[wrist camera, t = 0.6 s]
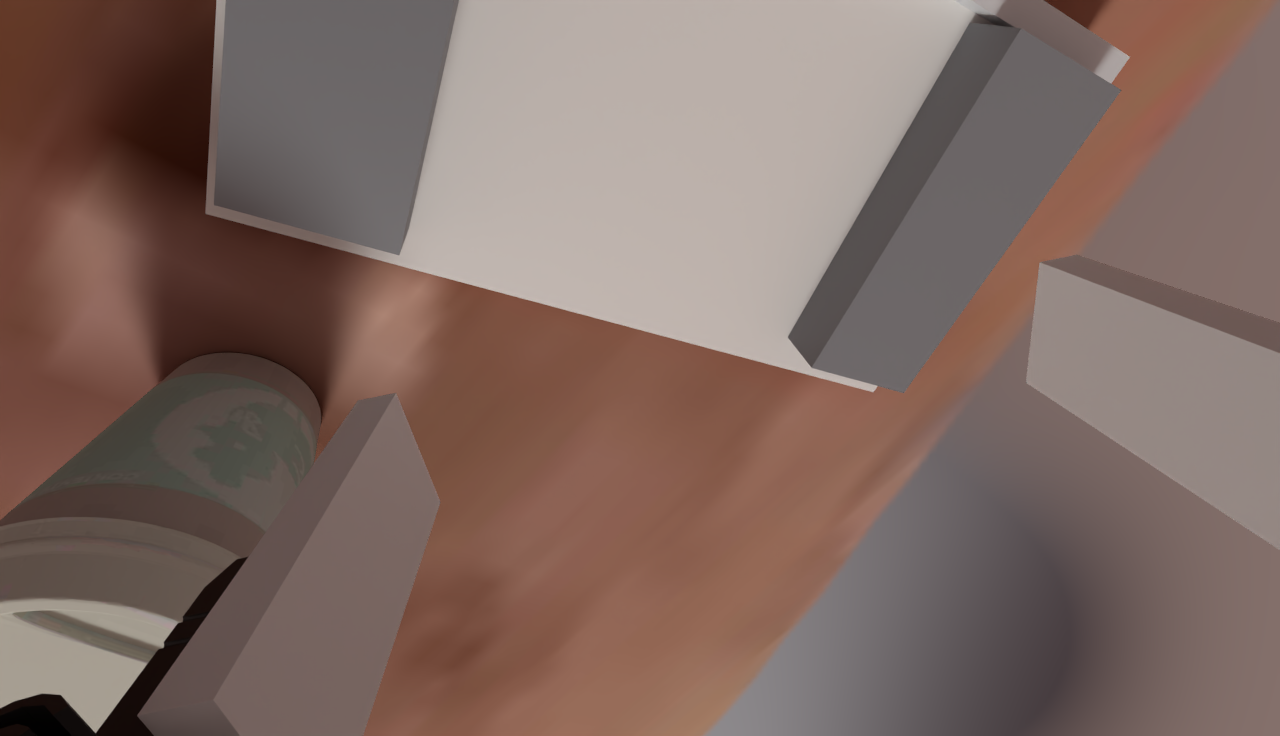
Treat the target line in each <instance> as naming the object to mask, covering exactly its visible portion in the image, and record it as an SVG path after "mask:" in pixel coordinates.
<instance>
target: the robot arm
mask: <svg viewBox="0 0 1280 736" xmlns="http://www.w3.org/2000/svg"><path fill="white" fill-rule="evenodd" d="M1026 383H1027V384H1029V385H1030V386H1032V387H1034V388H1035V389H1037V390H1038V391H1039V392H1041V393H1043V394H1044V395H1046V396H1047V397H1049V398H1050V399H1052V400H1053V401H1055V402H1056V403H1058V404H1059V405H1061V406H1062V407H1064V408H1065V409H1067V410H1068V411H1070V412H1071V413H1073V414H1074V415H1076V416H1077V417H1079V418H1080V419H1082V420H1084V421H1085V422H1086V423H1088V424H1090V425H1091V426H1093V427H1094V428H1096V429H1097V430H1099V431H1100V432H1102V433H1103V434H1105V435H1106V436H1108V437H1109V438H1111V439H1112V440H1114V441H1115V442H1117V443H1118V444H1120V445H1121V446H1123V447H1124V448H1126V449H1127V450H1129V451H1130V452H1132V453H1133V454H1135V455H1137V456H1138V457H1140V458H1141V459H1143V460H1144V461H1146V462H1147V463H1149V464H1150V465H1152V466H1153V467H1155V468H1156V469H1158V470H1160V471H1161V472H1162V473H1164V474H1165V475H1167V476H1168V477H1170V478H1171V479H1173V480H1174V481H1176V482H1177V483H1179V484H1181V485H1182V486H1184V487H1185V488H1187V489H1188V490H1190V491H1191V492H1193V493H1194V494H1196V495H1197V496H1199V497H1200V498H1202V499H1203V500H1205V501H1206V502H1208V503H1209V504H1211V505H1212V506H1214V507H1216V508H1217V509H1218V510H1220V511H1222V512H1223V513H1225V514H1226V515H1227V516H1229V517H1231V518H1232V519H1234V520H1235V521H1237V522H1238V523H1240V524H1241V525H1243V526H1244V527H1246V528H1247V529H1249V530H1250V531H1252V532H1253V533H1255V534H1256V535H1258V536H1259V537H1261V538H1263V539H1264V540H1265V541H1267V542H1268V543H1270V544H1271V545H1273V546H1274V547H1276V548H1278V549H1279V550H1280V323H1279V322H1276V321H1273V320H1270V319H1267V318H1264V317H1261V316H1257V315H1255V314H1252V313H1249V312H1246V311H1243V310H1240V309H1237V308H1234V307H1231V306H1228V305H1225V304H1222V303H1219V302H1216V301H1213V300H1210V299H1207V298H1204V297H1201V296H1198V295H1195V294H1192V293H1189V292H1186V291H1183V290H1180V289H1177V288H1174V287H1171V286H1168V285H1165V284H1163V283H1159V282H1157V281H1153V280H1151V279H1148V278H1144V277H1142V276H1139V275H1136V274H1133V273H1130V272H1127V271H1124V270H1121V269H1118V268H1115V267H1112V266H1109V265H1106V264H1103V263H1100V262H1097V261H1094V260H1091V259H1088V258H1085V257H1082V256H1079V255H1073V256H1068V257H1064V258H1059V259H1054V260H1049V261H1044V262H1040V265H1039V273H1038V282H1037V291H1036V299H1035V308H1034V317H1033V325H1032V334H1031V343H1030V352H1029V360H1028V369H1027V378H1026ZM439 505H440V500H439V498H438V495H437V493H436V490H435V488H434V485H433V483H432V480H431V478H430V476H429V473H428V471H427V468H426V466H425V463H424V461H423V458H422V456H421V453H420V451H419V448H418V446H417V443H416V441H415V439H414V436H413V434H412V431H411V429H410V426H409V424H408V421H407V419H406V416H405V414H404V411H403V409H402V406H401V404H400V401H399V399H398V397H397V394H396V393H393V394H388V395H383V396H378V397H373V398H369V399H364V400H359V401H357V403H356V404H355V406H354V407H353V409H352V410H351V411H350V413H349V414H348V416H347V417H346V419H345V420H344V421H343V423H342V424H341V426H340V427H339V429H338V430H337V431H336V433H335V434H334V436H333V437H332V439H331V440H330V441H329V443H328V444H327V446H326V447H325V449H324V450H323V451H322V453H321V454H320V456H319V457H318V458H317V460H316V461H315V463H314V464H313V466H312V467H311V468H310V470H309V471H308V473H307V474H306V476H305V477H304V478H303V480H302V481H301V483H300V484H299V486H298V487H297V488H296V490H295V491H294V493H293V494H292V496H291V497H290V498H289V500H288V501H287V503H286V504H285V506H284V507H283V508H282V510H281V511H280V513H279V514H278V515H277V517H276V518H275V520H274V521H273V523H272V524H271V525H270V527H269V528H268V530H267V531H266V533H265V534H264V535H263V537H262V538H261V540H260V541H259V543H258V544H257V545H256V547H255V548H254V550H253V551H252V553H251V554H250V555H249V557H245V558H240V559H236V560H235V561H234V562H233V563H232V564H231V565H230V566H228V567H227V568H226V569H225V570H224V571H223V572H221V573H220V574H219V575H218V576H217V577H216V578H215V579H213V580H212V581H211V582H210V583H209V584H208V585H207V586H205V587H204V589H203V590H202V591H201V593H200V594H199V595H198V597H197V598H196V599H195V601H194V602H193V603H192V605H191V606H190V608H189V609H188V610H187V612H186V613H185V614H184V616H183V622H181V623H178V624H177V625H176V626H175V628H174V629H173V630H172V632H171V633H170V634H169V636H168V637H167V638H166V640H165V641H164V642H163V643H164V647H163V648H161V649H158V650H157V652H156V653H155V654H154V656H153V657H152V658H151V660H150V661H149V662H148V664H147V665H146V666H145V668H144V669H143V670H142V672H141V673H140V674H139V676H138V677H137V678H136V680H135V681H134V682H133V684H132V685H131V687H130V688H129V689H128V691H127V692H126V693H125V695H124V696H123V697H122V699H121V700H120V701H119V703H118V704H117V705H116V707H115V708H114V709H113V711H112V712H111V713H110V715H109V716H108V717H107V719H106V720H105V721H104V723H103V724H102V725H101V727H100V728H99V729H98V731H97V732H96V733H95V732H94V731H93V730H92V729H91V728H90V726H89V725H88V724H87V723H86V722H85V721H84V720H83V719H82V718H81V717H80V715H79V714H78V713H77V712H76V711H75V710H74V709H73V708H72V707H71V706H70V704H69V703H68V702H67V701H66V700H65V699H64V698H63V697H62V696H61V695H56V694H43V693H42V694H38V695H35V696H31V697H28V698H24V699H21V700H17V701H14V702H12V703H10V704H8V705H6V706H4V707H2V708H0V736H363V734H364V731H365V728H366V725H367V722H368V719H369V716H370V713H371V710H372V707H373V704H374V701H375V698H376V695H377V692H378V689H379V686H380V683H381V680H382V677H383V674H384V671H385V668H386V665H387V662H388V659H389V656H390V653H391V650H392V647H393V644H394V641H395V638H396V634H397V631H398V628H399V625H400V622H401V619H402V616H403V613H404V610H405V607H406V604H407V601H408V598H409V595H410V592H411V589H412V586H413V583H414V580H415V577H416V574H417V571H418V568H419V565H420V562H421V559H422V556H423V553H424V550H425V547H426V544H427V541H428V538H429V535H430V532H431V529H432V526H433V523H434V520H435V517H436V514H437V511H438V508H439Z"/></svg>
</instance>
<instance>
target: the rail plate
mask: <svg viewBox="0 0 1280 736" xmlns="http://www.w3.org/2000/svg"><path fill="white" fill-rule="evenodd" d="M1129 58H1130V57H1129V56H1128V55H1126V54H1125V53H1123V52H1122V51H1120V50H1119V49H1117V48H1116V47H1114V46H1112V45H1111V44H1109V43H1108V42H1106V41H1105V40H1103V39H1102V38H1100V37H1099V36H1097V35H1096V34H1094V33H1093V32H1091V31H1090V30H1088V29H1087V28H1085V27H1083V26H1082V25H1080V24H1079V23H1077V22H1076V21H1074V20H1073V19H1071V18H1070V17H1068V16H1067V15H1065V14H1064V13H1062V12H1061V11H1059V10H1058V9H1056V8H1054V7H1053V6H1051V5H1050V4H1048V3H1047V2H1045V1H1044V0H217V1H216V20H215V40H214V59H213V78H212V97H211V116H210V135H209V154H208V173H207V192H206V211H205V214H208V215H212V216H215V217H219V218H223V219H227V220H230V221H234V222H238V223H242V224H245V225H249V226H253V227H257V228H260V229H264V230H268V231H272V232H275V233H279V234H283V235H287V236H290V237H294V238H298V239H302V240H305V241H309V242H313V243H317V244H320V245H324V246H328V247H332V248H335V249H339V250H343V251H347V252H350V253H354V254H358V255H361V256H365V257H369V258H373V259H376V260H380V261H384V262H388V263H391V264H395V265H399V266H403V267H406V268H410V269H414V270H418V271H421V272H425V273H429V274H433V275H436V276H440V277H444V278H448V279H451V280H455V281H459V282H463V283H466V284H470V285H474V286H478V287H481V288H485V289H489V290H493V291H496V292H500V293H504V294H508V295H511V296H515V297H519V298H523V299H526V300H530V301H534V302H538V303H541V304H545V305H549V306H553V307H556V308H560V309H564V310H568V311H571V312H575V313H579V314H583V315H586V316H590V317H594V318H598V319H601V320H605V321H609V322H613V323H616V324H620V325H624V326H628V327H631V328H635V329H639V330H643V331H646V332H650V333H654V334H658V335H661V336H665V337H669V338H672V339H676V340H680V341H684V342H687V343H691V344H695V345H699V346H702V347H706V348H710V349H714V350H717V351H721V352H725V353H729V354H732V355H736V356H740V357H744V358H747V359H751V360H755V361H759V362H762V363H766V364H770V365H774V366H777V367H781V368H785V369H789V370H792V371H796V372H800V373H804V374H807V375H811V376H815V377H819V378H822V379H826V380H830V381H834V382H837V383H841V384H845V385H849V386H852V387H856V388H860V389H864V390H867V391H871V392H874V391H875V389H876V388H877V386H880V387H884V388H887V389H891V390H895V391H898V392H902V393H904V392H905V391H906V389H907V388H908V386H909V385H910V384H911V382H912V381H913V379H914V378H915V377H916V375H917V374H918V372H919V371H920V370H921V368H922V367H923V365H924V364H925V363H926V361H927V360H928V359H929V357H930V356H931V354H932V353H933V352H934V350H935V349H936V347H937V346H938V345H939V343H940V342H941V340H942V339H943V338H944V336H945V335H946V333H947V332H948V331H949V329H950V328H951V327H952V325H953V324H954V322H955V321H956V320H957V318H958V317H959V315H960V314H961V313H962V311H963V310H964V308H965V307H966V306H967V304H968V303H969V301H970V300H971V299H972V297H973V296H974V295H975V293H976V292H977V290H978V289H979V288H980V286H981V285H982V283H983V282H984V281H985V279H986V278H987V276H988V275H989V274H990V272H991V271H992V269H993V268H994V267H995V265H996V264H997V263H998V261H999V260H1000V258H1001V257H1002V256H1003V254H1004V253H1005V251H1006V250H1007V249H1008V247H1009V246H1010V244H1011V243H1012V242H1013V240H1014V239H1015V237H1016V236H1017V235H1018V233H1019V232H1020V231H1021V229H1022V228H1023V226H1024V225H1025V224H1026V222H1027V221H1028V219H1029V218H1030V217H1031V215H1032V214H1033V212H1034V211H1035V210H1036V208H1037V207H1038V205H1039V204H1040V203H1041V201H1042V200H1043V199H1044V197H1045V196H1046V194H1047V193H1048V192H1049V190H1050V189H1051V187H1052V186H1053V185H1054V183H1055V182H1056V180H1057V179H1058V178H1059V176H1060V175H1061V173H1062V172H1063V171H1064V169H1065V168H1066V167H1067V165H1068V164H1069V162H1070V161H1071V160H1072V158H1073V157H1074V155H1075V154H1076V153H1077V151H1078V150H1079V148H1080V147H1081V146H1082V144H1083V143H1084V141H1085V140H1086V139H1087V137H1088V136H1089V135H1090V133H1091V132H1092V130H1093V129H1094V128H1095V126H1096V125H1097V123H1098V122H1099V121H1100V119H1101V118H1102V116H1103V115H1104V114H1105V112H1106V111H1107V109H1108V108H1109V107H1110V105H1111V104H1112V102H1113V101H1114V100H1115V98H1116V97H1117V96H1118V94H1119V93H1120V91H1121V90H1120V89H1119V88H1117V87H1116V86H1114V85H1112V84H1111V83H1112V82H1113V80H1114V79H1115V77H1116V76H1117V74H1118V73H1119V72H1120V70H1121V69H1122V67H1123V66H1124V65H1125V63H1126V62H1127V60H1128V59H1129Z"/></svg>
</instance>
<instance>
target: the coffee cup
mask: <svg viewBox="0 0 1280 736" xmlns="http://www.w3.org/2000/svg"><path fill="white" fill-rule="evenodd" d="M320 426H321V411H320V407H319V404H318V401H317V399H316V397H315V395H314V394H313V392H312V391H311V390H310V388H309V387H308V386H307V385H306V384H305V383H304V382H303V381H302V380H301V379H300V378H299V377H298V376H296V375H295V374H294V373H292V372H291V371H289V370H288V369H286V368H284V367H283V366H281V365H279V364H277V363H274V362H272V361H269V360H267V359H264V358H261V357H257V356H253V355H249V354H242V353H214V354H208V355H203V356H199V357H196V358H194V359H191V360H189V361H187V362H185V363H184V364H182V365H180V366H179V367H178V368H176V369H175V370H174V371H173V372H172V373H171V374H169V375H168V376H167V377H166V378H165V379H163V380H162V381H161V382H160V383H159V384H158V385H156V386H155V387H154V388H153V389H152V390H151V391H149V392H148V393H147V394H146V395H145V396H143V397H142V398H141V399H140V400H139V401H138V402H136V403H135V404H134V405H133V406H132V407H131V408H130V409H128V410H127V411H126V412H125V413H124V414H123V415H121V416H120V417H119V418H118V419H117V420H116V421H114V422H113V423H112V424H111V425H110V426H109V427H108V428H106V429H105V430H104V431H103V432H102V433H101V434H99V435H98V436H97V437H96V438H95V439H94V440H92V441H91V442H90V443H89V444H88V445H87V446H86V447H84V448H83V449H82V450H81V451H80V452H79V453H77V454H76V455H75V456H74V457H73V458H72V459H70V460H69V461H68V462H67V463H66V464H65V465H64V466H62V467H61V468H60V469H59V470H58V471H57V472H55V473H54V474H53V475H52V476H51V477H50V478H48V479H47V480H46V481H45V482H44V483H43V484H42V485H40V486H39V487H38V488H37V489H36V490H35V491H33V492H32V493H31V494H30V495H29V496H28V497H26V498H25V499H24V500H23V501H22V502H21V503H20V504H18V505H17V506H16V507H15V508H14V509H13V510H11V511H10V512H9V513H8V514H7V515H6V516H5V517H4V518H2V519H1V520H0V708H2V707H4V706H6V705H8V704H10V703H12V702H14V701H17V700H21V699H24V698H28V697H31V696H35V695H38V694H42V693H43V694H56V695H61V696H62V697H63V698H64V699H65V700H66V701H67V702H68V703H69V704H70V706H71V707H72V708H73V709H74V710H75V711H76V712H77V713H78V714H79V715H80V717H81V718H82V719H83V720H84V721H85V722H86V723H87V724H88V725H89V726H90V728H91V729H92V730H93V731H94V732H95V733H96V732H97V731H98V729H99V728H100V727H101V725H102V724H103V723H104V721H105V720H106V719H107V717H108V716H109V715H110V713H111V712H112V711H113V709H114V708H115V707H116V705H117V704H118V703H119V701H120V700H121V699H122V697H123V696H124V695H125V693H126V692H127V691H128V689H129V688H130V687H131V685H132V684H133V682H134V681H135V680H136V678H137V677H138V676H139V674H140V673H141V672H142V670H143V669H144V668H145V666H146V665H147V664H148V662H149V661H150V660H151V658H152V657H153V656H154V654H155V653H156V652H157V650H158V649H161V648H163V647H164V643H163V642H164V641H165V640H166V638H167V637H168V636H169V634H170V633H171V632H172V630H173V629H174V628H175V626H176V625H177V624H178V623H181V622H183V616H184V614H185V613H186V612H187V610H188V609H189V608H190V606H191V605H192V603H193V602H194V601H195V599H196V598H197V597H198V595H199V594H200V593H201V591H202V590H203V589H204V587H205V586H207V585H208V584H209V583H210V582H211V581H212V580H213V579H215V578H216V577H217V576H218V575H219V574H220V573H221V572H223V571H224V570H225V569H226V568H227V567H228V566H230V565H231V564H232V563H233V562H234V561H235V560H236V559H240V558H245V557H249V555H250V554H251V553H252V551H253V550H254V548H255V547H256V545H257V544H258V543H259V541H260V540H261V538H262V537H263V535H264V534H265V533H266V531H267V530H268V528H269V527H270V525H271V524H272V523H273V521H274V520H275V518H276V517H277V515H278V514H279V513H280V511H281V510H282V508H283V507H284V506H285V504H286V503H287V501H288V500H289V498H290V497H291V496H292V494H293V493H294V491H295V490H296V488H297V487H298V486H299V484H300V483H301V481H302V480H303V478H304V477H305V476H306V474H307V473H308V471H309V470H310V468H311V467H312V466H313V464H314V459H315V453H316V448H317V442H318V437H319V431H320Z"/></svg>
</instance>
